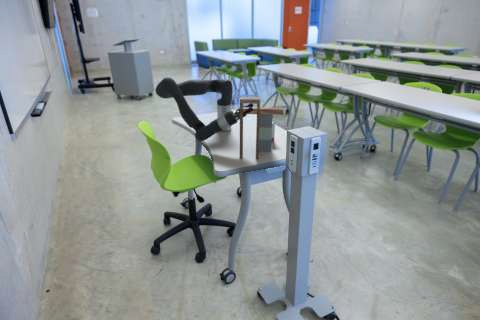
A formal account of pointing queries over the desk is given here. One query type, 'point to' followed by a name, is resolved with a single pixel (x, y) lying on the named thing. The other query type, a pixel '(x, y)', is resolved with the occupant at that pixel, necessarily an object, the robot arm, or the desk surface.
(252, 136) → the desk surface
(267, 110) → the terracotta bar
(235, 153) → the desk surface
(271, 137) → the ink box
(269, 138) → the block tower
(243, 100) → the walnut stand
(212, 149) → the desk surface
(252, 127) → the desk surface
